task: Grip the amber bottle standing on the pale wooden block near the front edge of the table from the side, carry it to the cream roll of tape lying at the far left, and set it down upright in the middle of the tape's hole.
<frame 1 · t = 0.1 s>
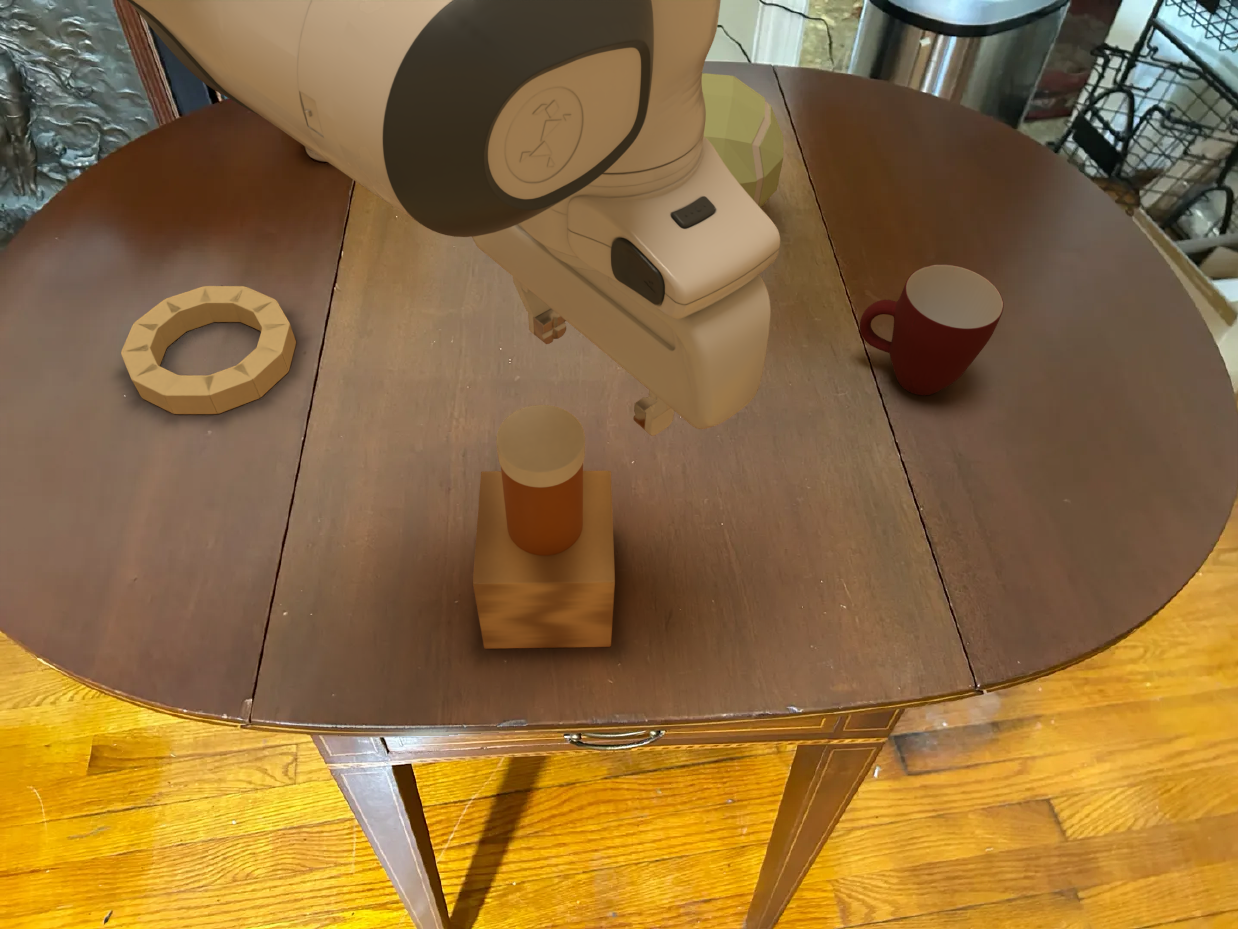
hand: (598, 377, 54), 20 cm above the table, tool pointing down, fingers open, 8 cm apart
pill bottle: (331, 150, 101), on the table
amber bottle: (545, 524, 60), point 9 cm above the table, touching block stand
decorative sphere: (696, 220, 96), on the table
block stand: (548, 592, 67), on the table
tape: (215, 357, 81), on the table
mug: (904, 378, 83), on the table
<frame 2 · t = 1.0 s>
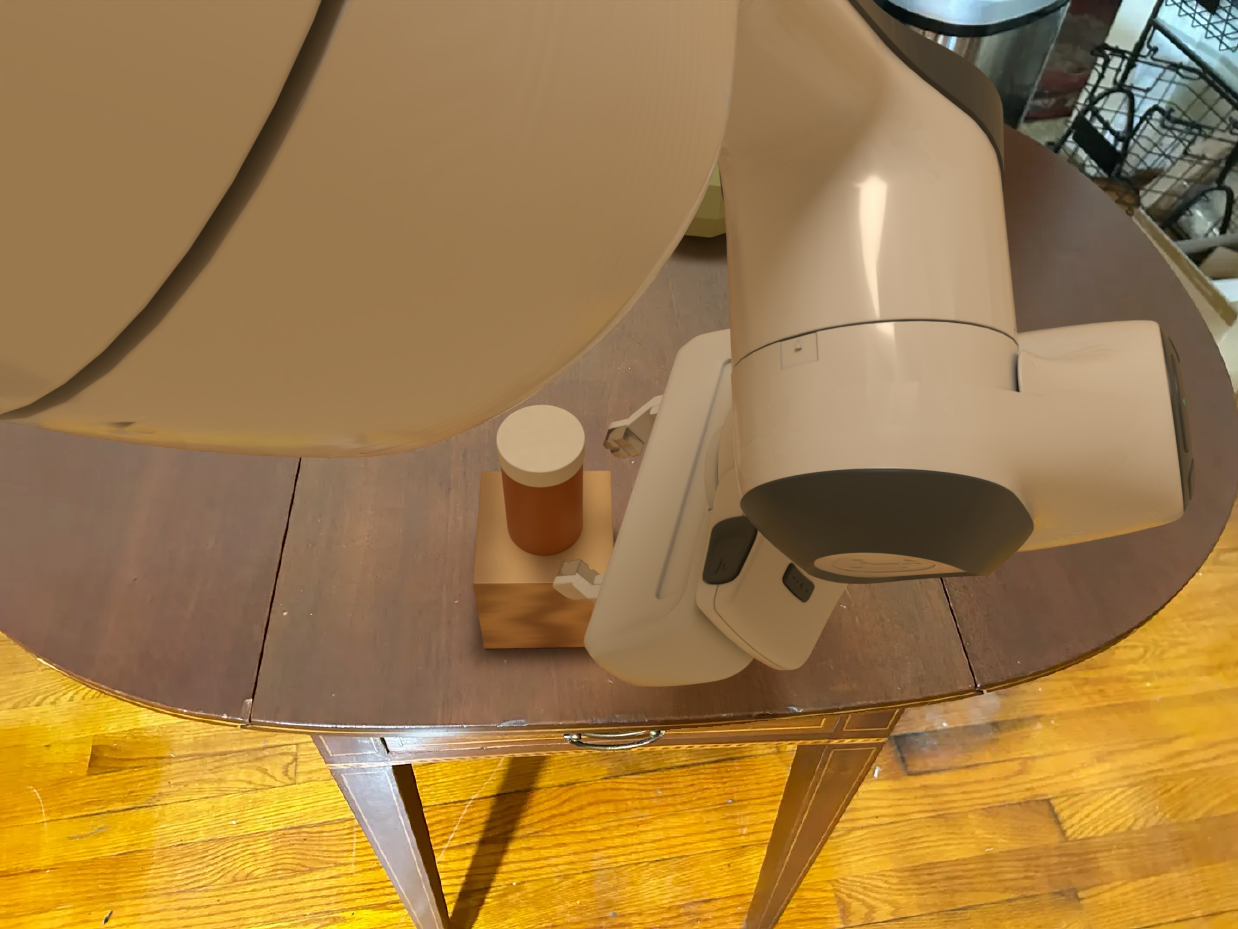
hand: (588, 508, 52), 16 cm above the table, tool tilted 50°, fingers open, 8 cm apart
nothing on the table moved.
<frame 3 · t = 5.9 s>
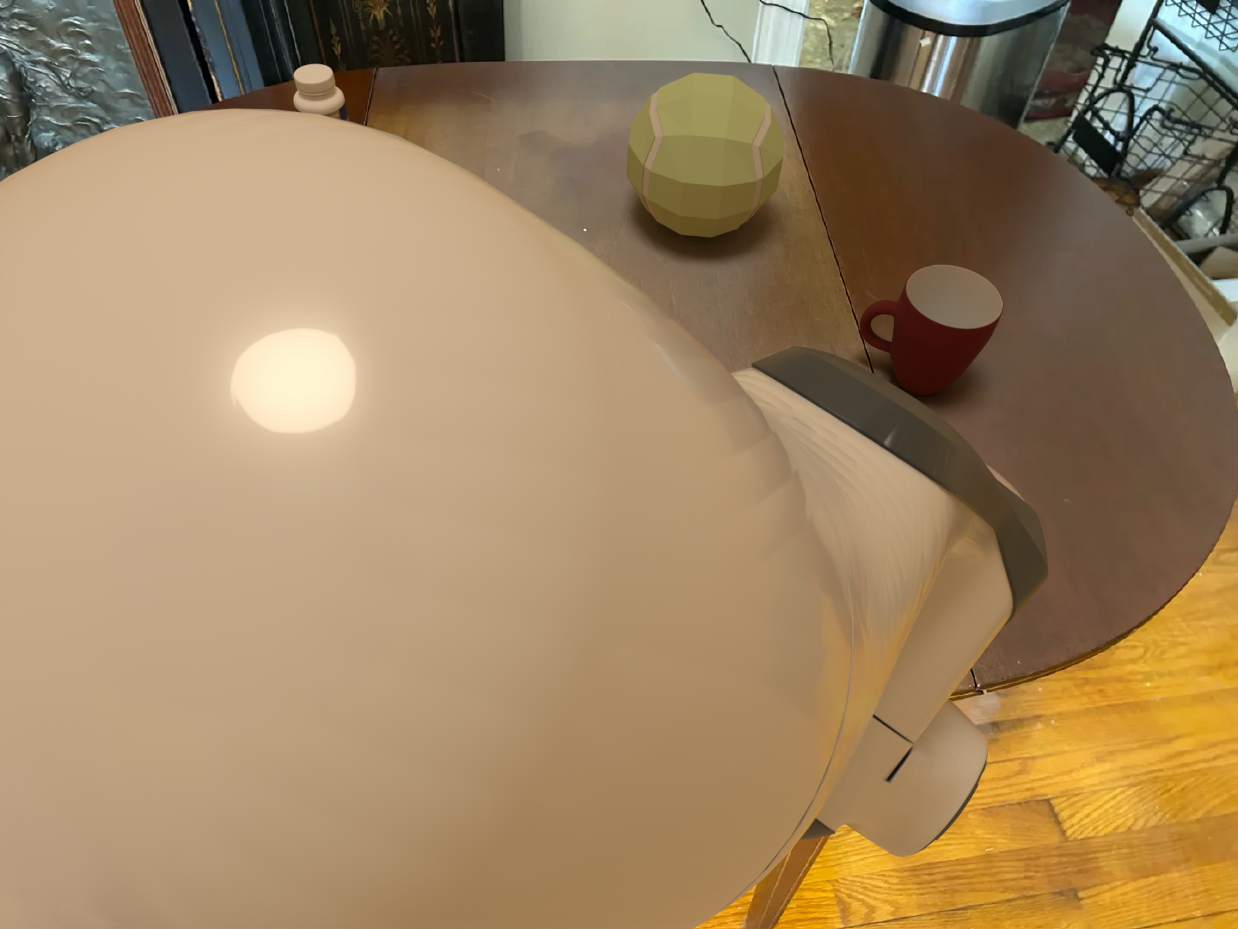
hand: (532, 468, 57), 14 cm above the table, tool horizontal, fingers closed on amber bottle, 5 cm apart
amber bottle: (545, 523, 60), point 9 cm above the table, touching gripper
everything else where it was.
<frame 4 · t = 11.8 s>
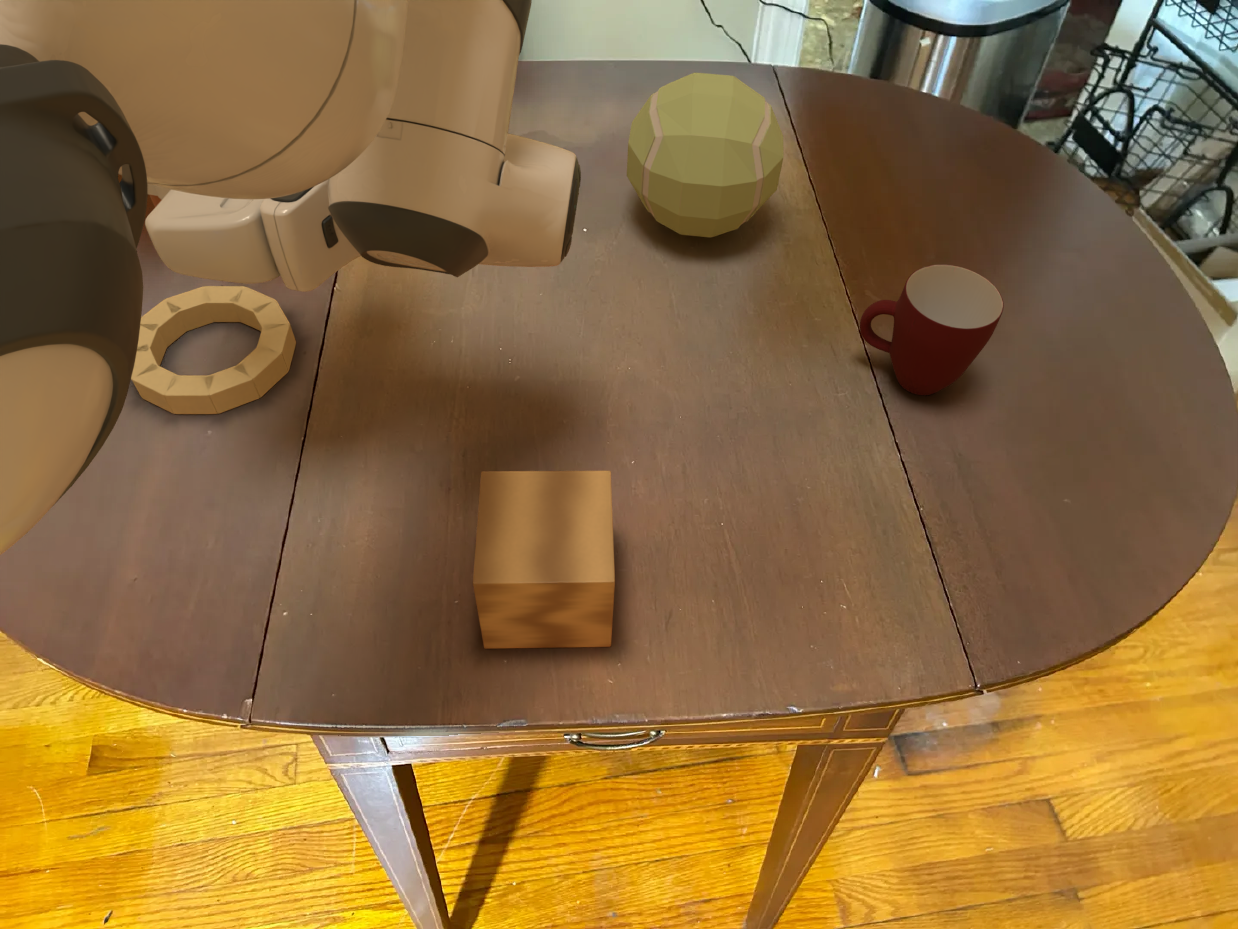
hand: (158, 149, 63), 22 cm above the table, tool horizontal, fingers closed on amber bottle, 5 cm apart
amber bottle: (196, 213, 67), point 17 cm above the table, touching gripper
everything else where it was.
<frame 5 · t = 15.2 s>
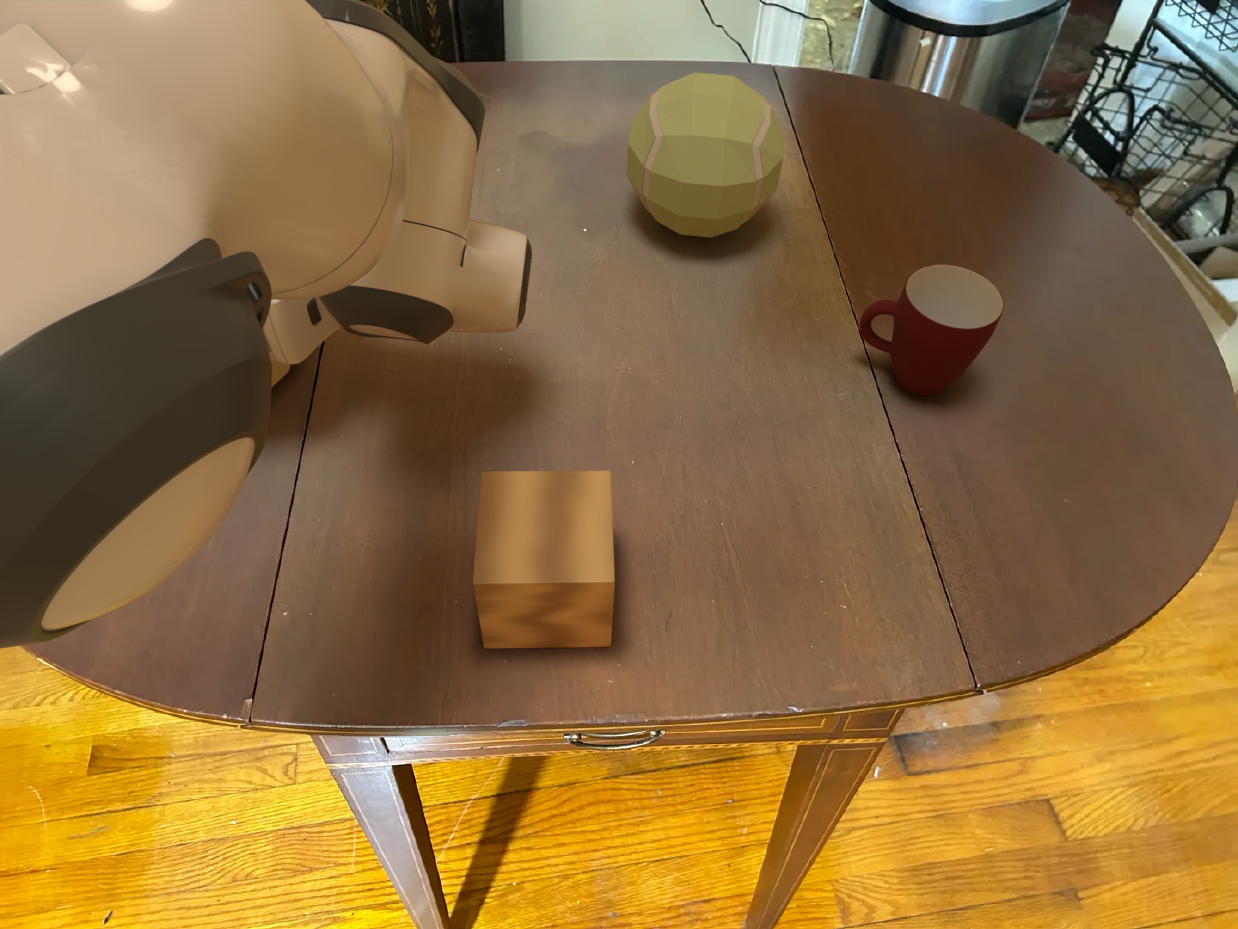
hand: (154, 238, 71), 13 cm above the table, tool horizontal, fingers closed on amber bottle, 5 cm apart
amber bottle: (188, 290, 75), point 8 cm above the table, touching gripper
everything else where it was.
when the fingers open (5 cm above the table, at t = 17.7 s): amber bottle stays where it is, resting in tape.
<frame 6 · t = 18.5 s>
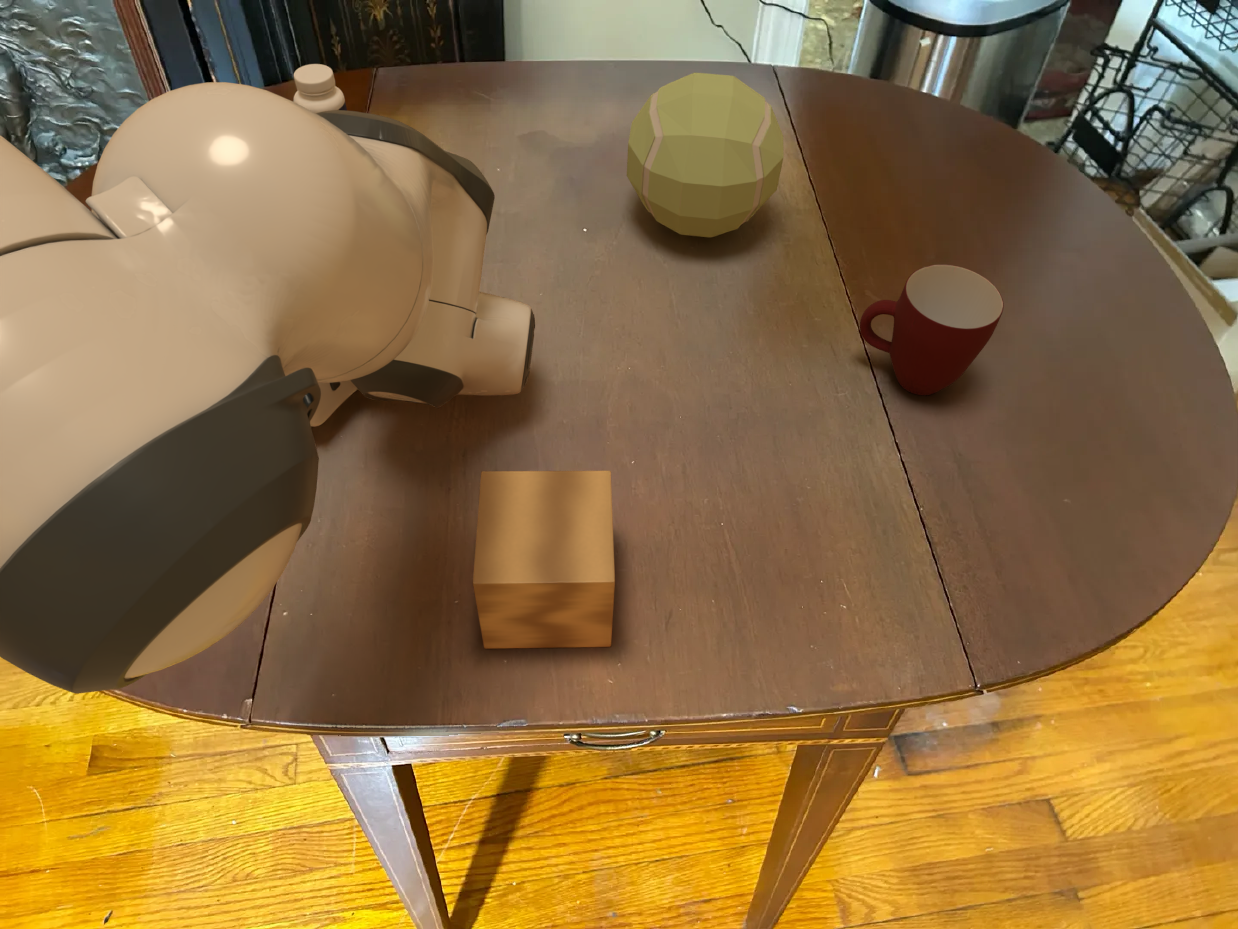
hand: (184, 307, 76), 6 cm above the table, tool horizontal, fingers open, 8 cm apart
amber bottle: (217, 355, 81), resting in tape
everything else where it was.
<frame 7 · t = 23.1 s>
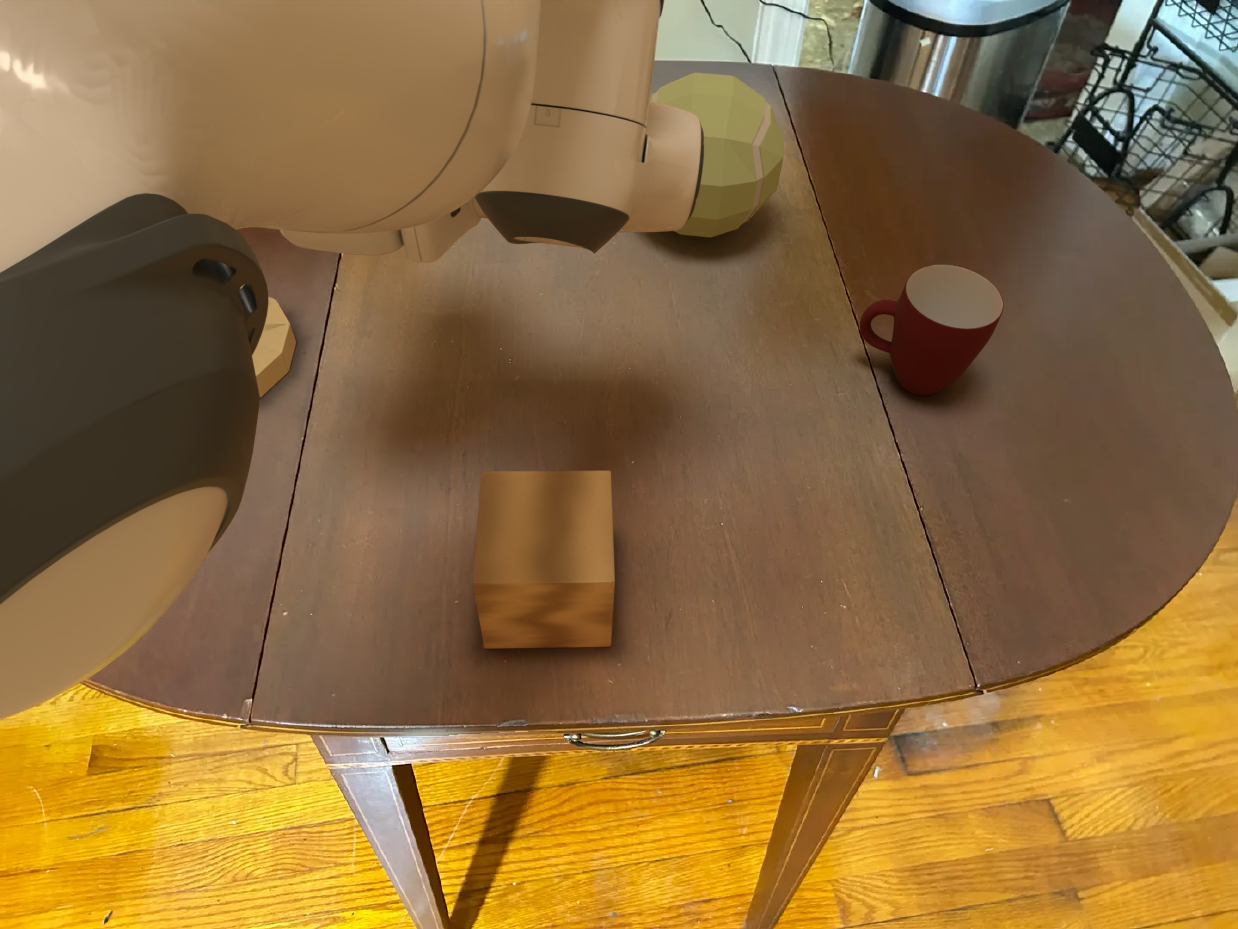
hand: (258, 123, 61), 24 cm above the table, tool horizontal, fingers open, 8 cm apart
nothing on the table moved.
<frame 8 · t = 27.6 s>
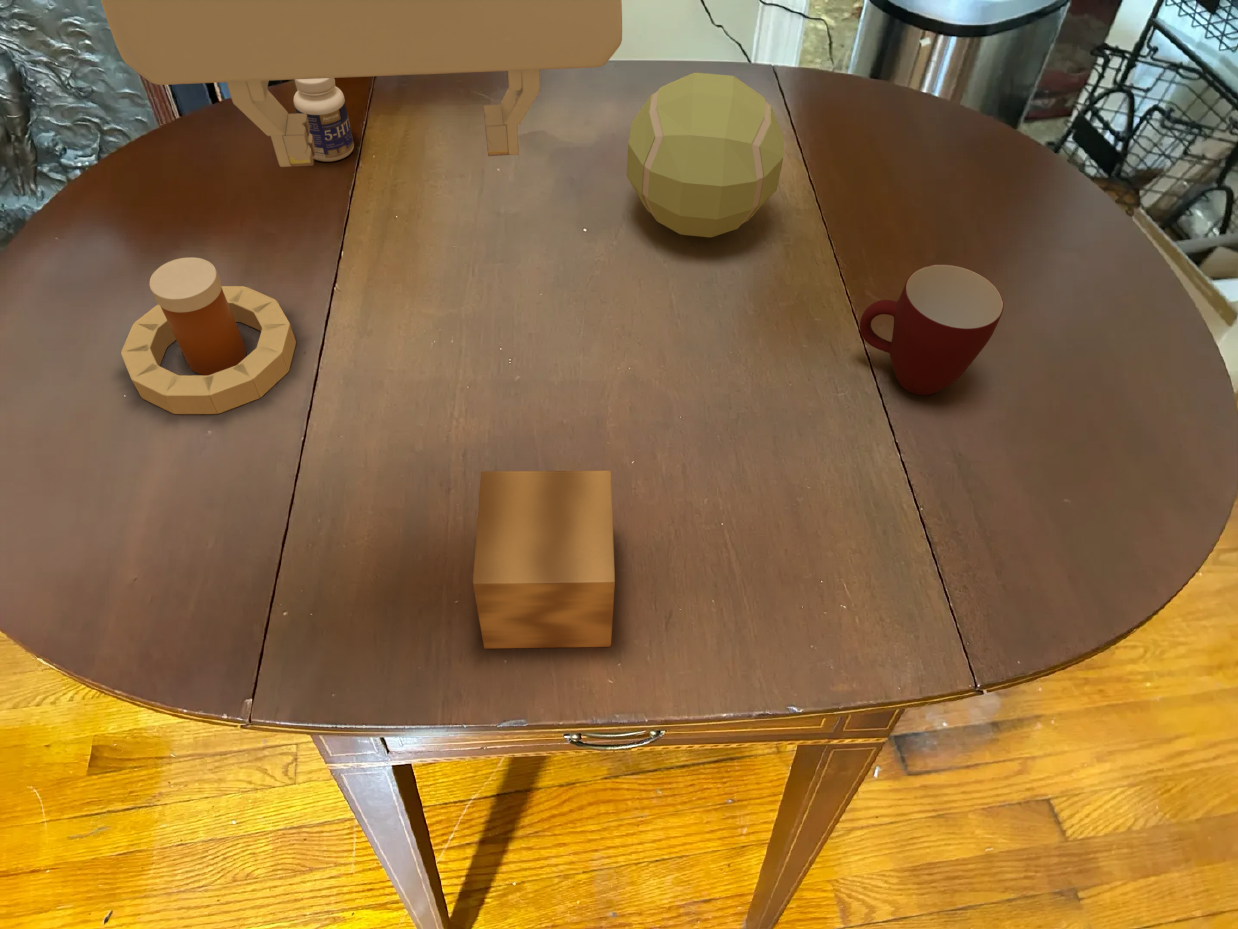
hand: (401, 154, 43), 34 cm above the table, tool pointing down, fingers open, 8 cm apart
nothing on the table moved.
at the end: amber bottle 0.2 cm off-centre on the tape, point 0.0 cm above the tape's base; amber bottle tilted 0°; the gripper is holding nothing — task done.
